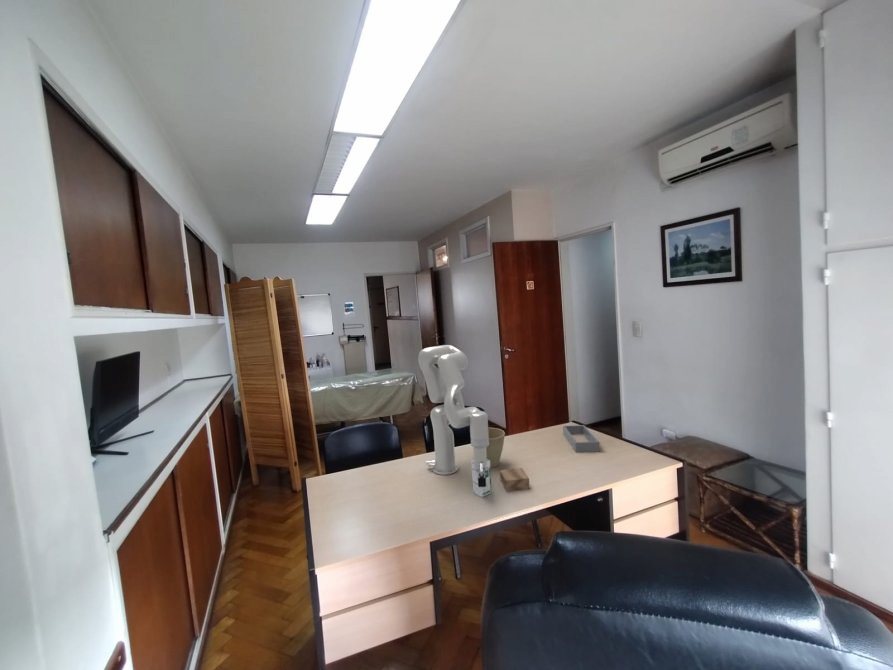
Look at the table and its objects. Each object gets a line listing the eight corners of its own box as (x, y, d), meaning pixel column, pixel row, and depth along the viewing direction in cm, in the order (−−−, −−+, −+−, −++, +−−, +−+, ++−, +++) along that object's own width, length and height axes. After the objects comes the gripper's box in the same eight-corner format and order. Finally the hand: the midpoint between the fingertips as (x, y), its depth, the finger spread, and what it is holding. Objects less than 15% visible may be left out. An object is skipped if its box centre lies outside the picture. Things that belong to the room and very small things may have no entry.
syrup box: (482, 497, 156) (480, 463, 154) (472, 492, 160) (470, 459, 159) (492, 492, 159) (490, 459, 157) (482, 487, 164) (481, 455, 162)
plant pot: (470, 468, 183) (469, 436, 182) (482, 456, 196) (480, 426, 195) (500, 473, 176) (498, 440, 175) (510, 460, 189) (508, 429, 188)
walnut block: (506, 492, 159) (505, 480, 159) (500, 481, 169) (499, 470, 169) (529, 489, 161) (528, 478, 160) (521, 478, 170) (521, 467, 170)
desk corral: (575, 452, 194) (575, 442, 194) (563, 434, 220) (562, 425, 219) (599, 451, 193) (599, 442, 193) (584, 433, 219) (584, 425, 219)
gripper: (470, 434, 166) (472, 472, 168) (470, 449, 149) (473, 492, 151) (487, 433, 166) (489, 471, 168) (489, 449, 149) (492, 492, 150)
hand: (481, 481), depth 159 cm, fingers closed on syrup box, 7 cm apart
